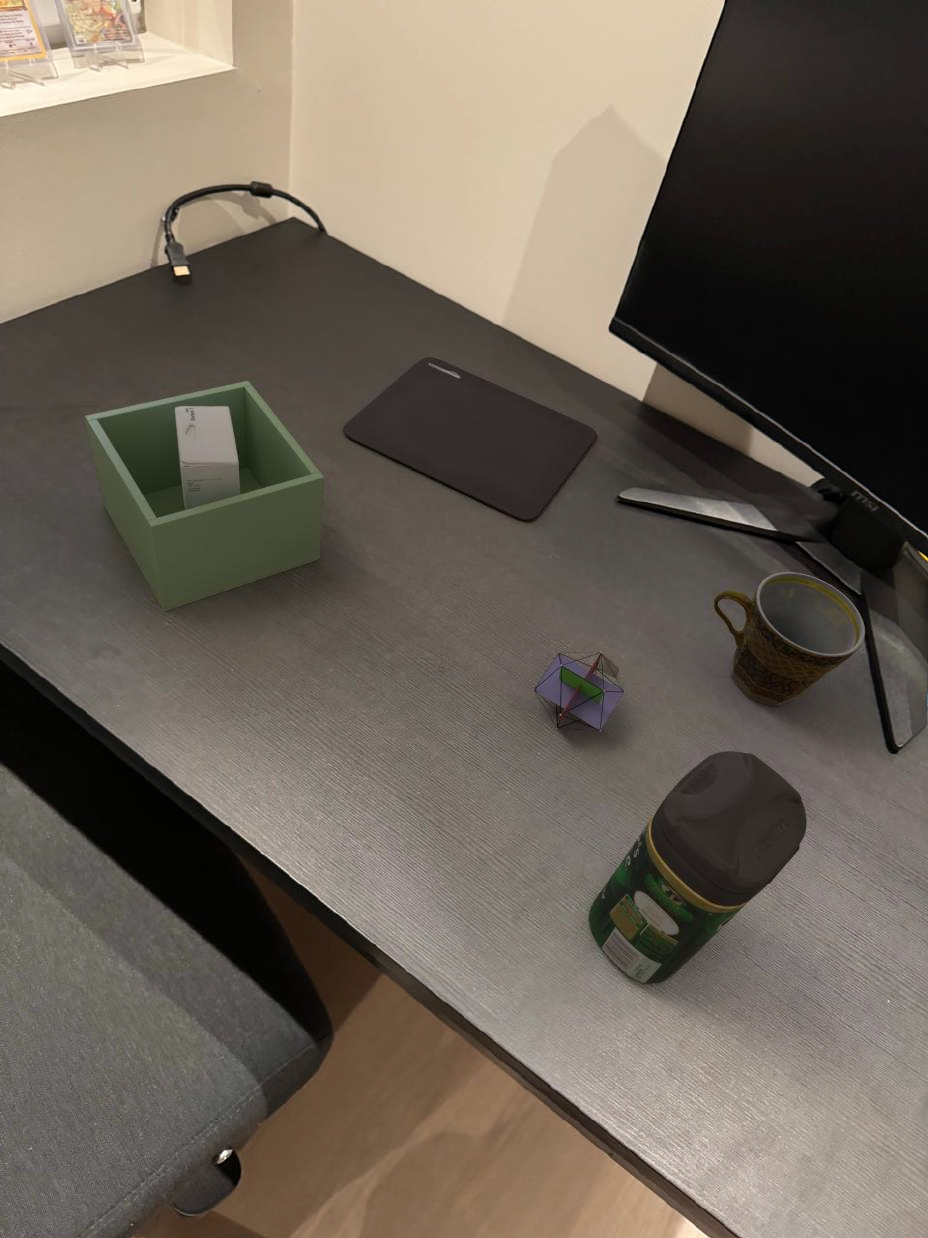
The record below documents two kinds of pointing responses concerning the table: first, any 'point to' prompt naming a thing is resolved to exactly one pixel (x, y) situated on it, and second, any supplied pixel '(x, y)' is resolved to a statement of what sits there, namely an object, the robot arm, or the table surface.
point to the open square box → (216, 532)
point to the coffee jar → (697, 864)
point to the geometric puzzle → (581, 689)
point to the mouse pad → (473, 436)
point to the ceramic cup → (791, 636)
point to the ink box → (206, 454)
